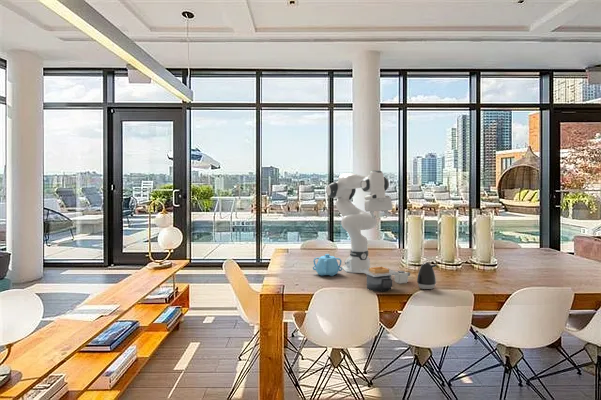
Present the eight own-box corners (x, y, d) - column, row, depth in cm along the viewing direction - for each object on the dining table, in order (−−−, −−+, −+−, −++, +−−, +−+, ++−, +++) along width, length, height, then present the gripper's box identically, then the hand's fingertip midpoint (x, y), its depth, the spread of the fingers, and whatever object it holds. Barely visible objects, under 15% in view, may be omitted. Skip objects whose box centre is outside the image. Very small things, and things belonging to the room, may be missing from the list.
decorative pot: (344, 275, 278) (344, 255, 278) (323, 278, 271) (322, 257, 270) (331, 271, 293) (331, 251, 292) (311, 273, 286) (310, 253, 285)
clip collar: (368, 270, 247) (368, 267, 247) (381, 269, 250) (381, 266, 250) (375, 273, 240) (375, 270, 240) (389, 271, 243) (389, 269, 243)
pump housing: (394, 281, 261) (394, 271, 260) (406, 280, 264) (406, 269, 263) (399, 283, 256) (399, 272, 256) (411, 282, 259) (411, 271, 259)
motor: (359, 286, 250) (359, 269, 250) (383, 283, 256) (383, 267, 255) (376, 294, 233) (376, 276, 233) (400, 291, 239) (400, 273, 239)
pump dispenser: (435, 291, 236) (435, 264, 236) (416, 290, 240) (416, 263, 240) (436, 287, 246) (436, 261, 245) (418, 285, 250) (418, 260, 249)
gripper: (387, 196, 274) (388, 217, 274) (362, 196, 264) (363, 219, 263) (394, 195, 269) (395, 217, 268) (369, 196, 258) (370, 218, 258)
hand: (379, 218), depth 266 cm, fingers open, 8 cm apart
